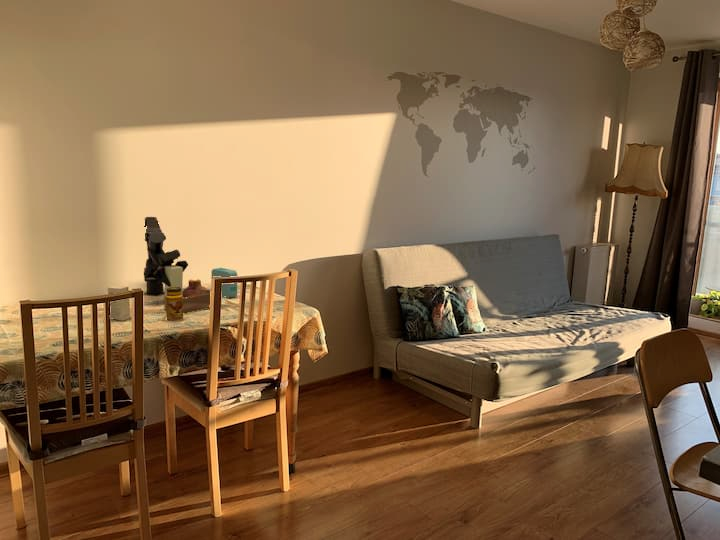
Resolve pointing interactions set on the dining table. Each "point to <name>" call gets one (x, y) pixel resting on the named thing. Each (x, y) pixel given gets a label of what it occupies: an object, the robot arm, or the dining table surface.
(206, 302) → the walnut box
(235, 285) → the data package
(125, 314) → the skincare box
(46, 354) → the dining table surface
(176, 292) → the condiment
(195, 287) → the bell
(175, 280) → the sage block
